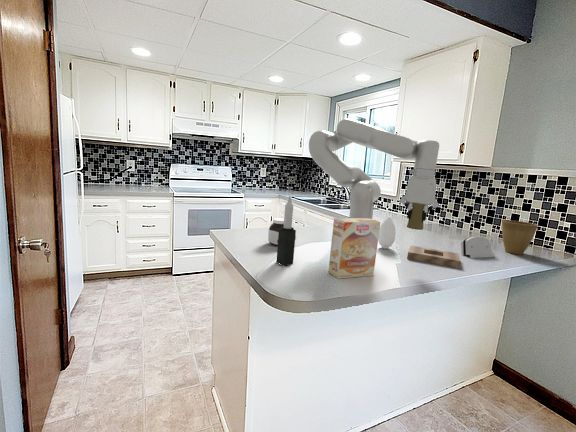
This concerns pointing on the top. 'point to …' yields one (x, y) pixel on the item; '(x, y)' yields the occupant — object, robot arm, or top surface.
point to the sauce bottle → (387, 233)
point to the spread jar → (275, 231)
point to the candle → (286, 237)
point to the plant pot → (517, 235)
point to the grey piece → (476, 247)
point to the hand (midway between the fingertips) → (415, 220)
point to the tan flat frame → (434, 256)
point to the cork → (416, 217)
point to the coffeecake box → (353, 247)
